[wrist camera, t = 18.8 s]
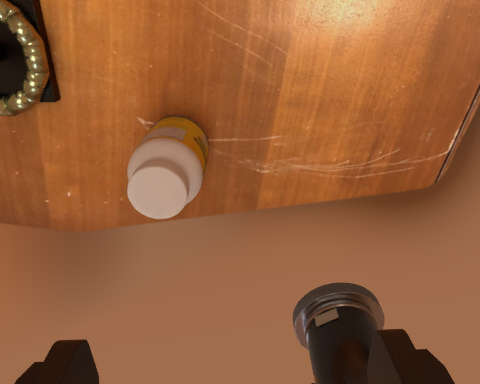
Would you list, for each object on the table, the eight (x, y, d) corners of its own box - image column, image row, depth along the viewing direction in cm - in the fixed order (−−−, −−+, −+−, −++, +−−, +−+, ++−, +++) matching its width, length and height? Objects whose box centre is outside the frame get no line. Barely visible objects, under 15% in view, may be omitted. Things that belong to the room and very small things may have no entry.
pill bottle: (197, 179, 41) (182, 239, 30) (140, 158, 39) (106, 213, 29) (218, 127, 38) (211, 174, 27) (158, 102, 37) (127, 142, 26)
